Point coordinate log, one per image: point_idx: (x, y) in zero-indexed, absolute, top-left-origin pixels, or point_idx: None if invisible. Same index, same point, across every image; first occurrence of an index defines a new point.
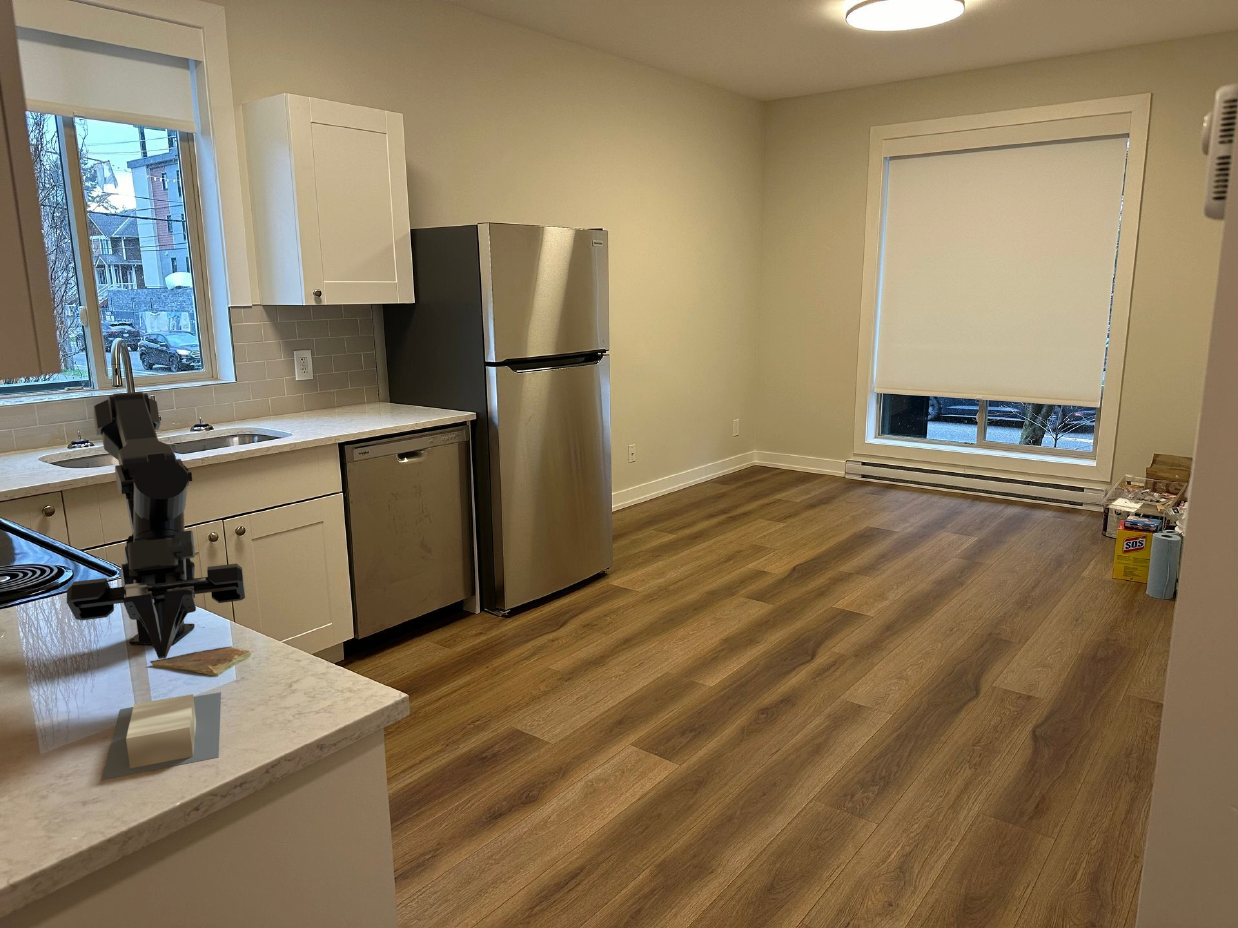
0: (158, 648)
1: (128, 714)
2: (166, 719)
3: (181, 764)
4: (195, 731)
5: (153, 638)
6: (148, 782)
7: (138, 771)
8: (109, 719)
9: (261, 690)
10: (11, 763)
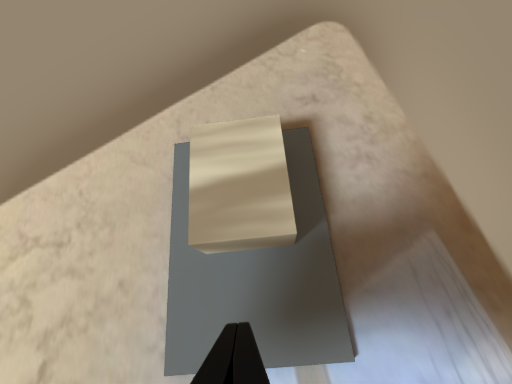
0: (242, 338)
1: (329, 325)
2: (227, 157)
3: None
4: None
5: (256, 373)
6: None
7: None
8: (364, 330)
9: (94, 367)
10: (466, 210)
